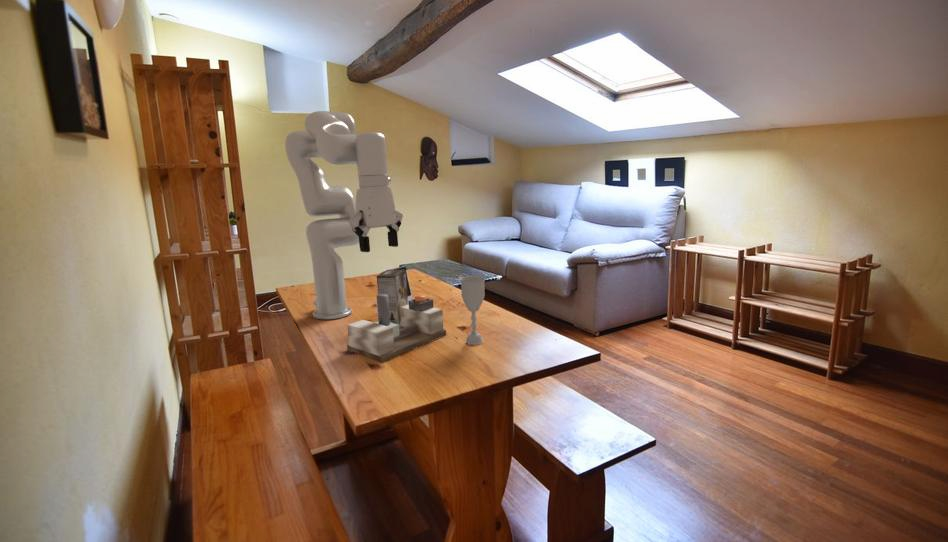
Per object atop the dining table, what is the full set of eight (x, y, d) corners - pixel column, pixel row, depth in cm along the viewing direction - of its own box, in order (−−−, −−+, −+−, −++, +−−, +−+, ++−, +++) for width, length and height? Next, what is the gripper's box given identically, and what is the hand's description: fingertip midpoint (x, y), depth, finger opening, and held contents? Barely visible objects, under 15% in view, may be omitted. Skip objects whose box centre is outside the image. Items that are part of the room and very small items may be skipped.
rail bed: (347, 350, 131) (344, 315, 129) (411, 326, 149) (410, 294, 147) (382, 362, 122) (379, 324, 120) (446, 335, 141) (444, 301, 138)
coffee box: (390, 317, 158) (387, 269, 155) (409, 318, 157) (406, 269, 153) (379, 326, 149) (376, 275, 146) (399, 327, 148) (396, 276, 145)
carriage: (370, 334, 132) (367, 295, 130) (382, 330, 135) (379, 292, 133) (388, 339, 128) (385, 299, 125) (399, 335, 131) (397, 295, 128)
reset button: (413, 304, 141) (412, 296, 140) (421, 301, 143) (420, 294, 143) (421, 305, 139) (420, 298, 138) (428, 303, 141) (428, 295, 141)
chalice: (490, 338, 137) (489, 276, 133) (483, 347, 131) (481, 282, 127) (466, 336, 139) (464, 274, 135) (457, 344, 133) (455, 280, 129)
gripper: (389, 182, 134) (394, 243, 137) (336, 184, 121) (343, 253, 124) (408, 181, 129) (413, 245, 133) (356, 183, 116) (363, 255, 119)
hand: (379, 249), depth 128 cm, fingers open, 9 cm apart
